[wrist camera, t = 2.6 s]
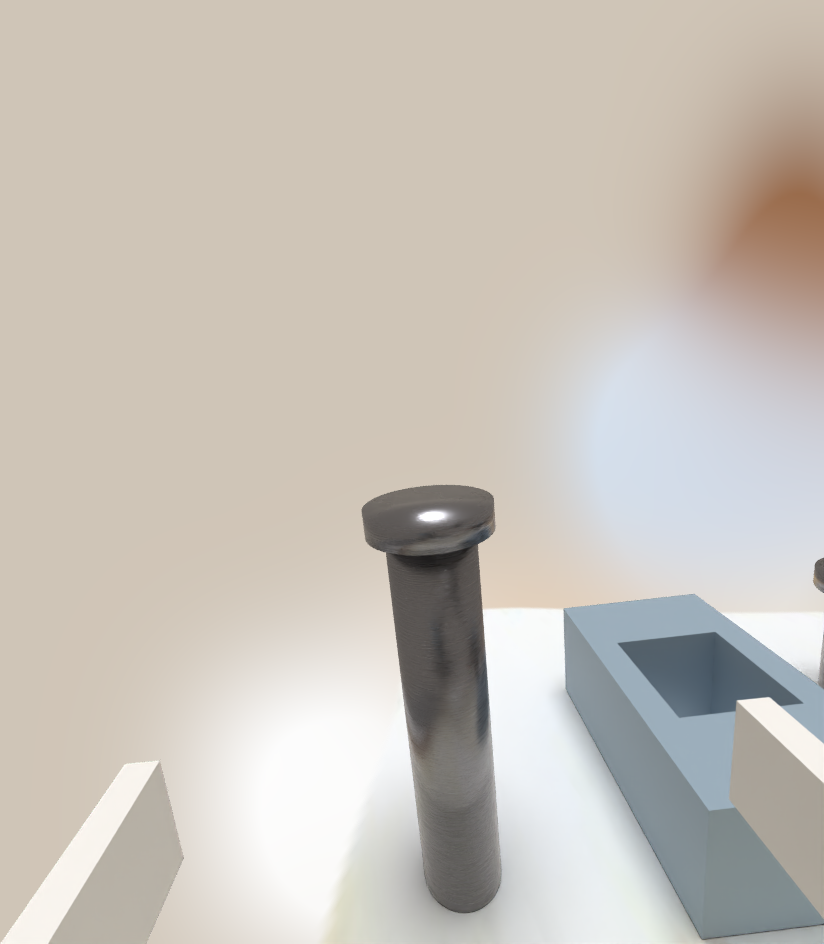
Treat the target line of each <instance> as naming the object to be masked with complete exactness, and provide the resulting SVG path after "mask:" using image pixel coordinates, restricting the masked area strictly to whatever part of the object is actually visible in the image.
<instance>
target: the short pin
mask: <svg viewBox="0 0 824 944" xmlns="http://www.w3.org/2000/svg"><path fill="white" fill-rule="evenodd" d="M813 582H814V584H815V586H816V587H817V588H818V589H819V590H820V591H822V592H823V593H824V558H822V559H820V560H818V561H817V562H816V563H815V570H814V580H813ZM818 685H819V686H820V687H821V688H823V689H824V634H823V643H822V652H821V661H820V670H819V679H818Z"/></svg>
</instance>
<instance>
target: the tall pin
mask: <svg viewBox="0 0 824 944" xmlns="http://www.w3.org/2000/svg"><path fill="white" fill-rule="evenodd" d="M362 517H363V525H364V533H365V539H366V542H367V543H368V544H369V545H370V546H371V547H373V548H375V549H377V550H380V551H383V552H386V557H387V565H388V573H389V582H390V590H391V598H392V606H393V615H394V623H395V632H396V640H397V648H398V656H399V665H400V673H401V681H402V690H403V698H404V706H405V714H406V723H407V731H408V739H409V748H410V756H411V764H412V773H413V781H414V789H415V797H416V806H417V814H418V822H419V831H420V839H421V847H422V855H423V864H424V872H425V879H426V883H427V886H428V888H429V890H430V892H431V894H432V895H433V897H434V898H435V899H436V900H437V901H438V902H439V903H440V904H441V905H443V906H444V907H446V908H447V909H450V910H452V911H456V912H462V913H467V912H473V911H476V910H479V909H481V908H483V907H484V906H486V905H487V904H488V903H489V902H490V901H491V900H492V899H493V897H494V896H495V894H496V892H497V891H498V888H499V885H500V881H501V859H500V845H499V832H498V818H497V804H496V790H495V776H494V763H493V749H492V735H491V721H490V708H489V694H488V680H487V666H486V652H485V639H484V625H483V611H482V597H481V585H480V570H479V556H478V544H479V543H481V542H483V541H484V540H486V539H487V538H489V537H490V536H491V535H492V534H493V532H494V531H495V512H494V498H493V496H492V495H491V494H490V493H489V492H487V491H485V490H482V489H479V488H474V487H469V486H460V485H433V486H422V487H415V488H408V489H403V490H398V491H394V492H390V493H387V494H384V495H381V496H379V497H376V498H374V499H372V500H371V501H369V502H368V503H366V504H365V505H364V506H363V508H362Z"/></svg>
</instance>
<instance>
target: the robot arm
mask: <svg viewBox="0 0 824 944" xmlns="http://www.w3.org/2000/svg"><path fill="white" fill-rule="evenodd" d="M729 800H730V801H731V802H732V804H733V805H734V806H735V807H736V809H737V810H738V811H739V812H740V814H741V815H742V816H743V818H744V819H745V820H746V821H747V823H748V824H749V825H750V826H751V828H752V829H753V830H754V831H755V833H756V834H757V835H758V837H759V838H760V839H761V840H762V842H763V843H764V844H765V845H766V847H767V848H768V849H769V850H770V852H771V853H772V854H773V856H774V857H775V858H776V859H777V861H778V862H779V863H780V864H781V866H782V867H783V868H784V869H785V871H786V872H787V873H788V875H789V876H790V877H791V878H792V880H793V881H794V882H795V883H796V885H797V886H798V887H799V888H800V890H801V891H802V892H803V894H804V895H805V896H806V897H807V899H808V900H809V901H810V902H811V904H812V905H813V906H814V907H815V909H816V910H817V911H818V913H819V914H820V915H821V916H822V918H823V919H824V744H823V743H822V742H821V741H820V740H819V739H818V738H816V737H815V736H814V735H813V734H812V733H811V732H809V731H808V730H807V729H806V728H805V727H804V726H802V725H801V724H800V723H799V722H798V721H797V720H795V719H794V718H793V717H792V716H791V715H790V714H789V713H787V712H786V711H785V710H784V709H783V708H782V707H780V706H779V705H778V704H777V703H776V702H775V701H773V700H772V699H771V698H770V697H765V698H756V699H746V700H737V701H736V714H735V727H734V740H733V753H732V766H731V779H730V792H729ZM183 859H184V857H183V853H182V849H181V845H180V841H179V837H178V833H177V829H176V825H175V820H174V817H173V812H172V808H171V804H170V800H169V796H168V792H167V788H166V784H165V780H164V776H163V772H162V768H161V764H160V761H150V762H141V763H130V764H125V765H124V766H123V768H122V769H121V771H120V772H119V774H118V775H117V777H116V778H115V779H114V781H113V783H112V784H111V785H110V787H109V788H108V790H107V791H106V792H105V794H104V795H103V797H102V798H101V800H100V801H99V803H98V804H97V806H96V807H95V808H94V810H93V811H92V813H91V814H90V816H89V817H88V818H87V820H86V821H85V823H84V824H83V826H82V827H81V828H80V830H79V831H78V833H77V834H76V836H75V837H74V839H73V840H72V842H71V843H70V844H69V846H68V847H67V849H66V850H65V852H64V853H63V855H62V856H61V857H60V859H59V860H58V862H57V863H56V865H55V866H54V868H53V869H52V870H51V872H50V873H49V875H48V876H47V878H46V879H45V880H44V882H43V883H42V885H41V886H40V888H39V889H38V890H37V892H36V893H35V895H34V896H33V898H32V899H31V901H30V902H29V903H28V905H27V906H26V908H25V909H24V911H23V912H22V914H21V915H20V917H19V918H18V919H17V921H16V922H15V924H14V925H13V927H12V928H11V929H10V931H9V932H8V934H7V935H6V937H5V938H4V939H3V941H2V942H1V944H146V943H147V941H148V938H149V936H150V934H151V932H152V929H153V927H154V925H155V922H156V920H157V918H158V916H159V913H160V911H161V909H162V907H163V904H164V902H165V900H166V897H167V895H168V893H169V891H170V888H171V886H172V884H173V881H174V879H175V877H176V875H177V872H178V870H179V868H180V865H181V863H182V861H183Z"/></svg>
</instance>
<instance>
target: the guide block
mask: <svg viewBox="0 0 824 944" xmlns="http://www.w3.org/2000/svg"><path fill="white" fill-rule="evenodd" d="M564 639H565V674H566V690H567V692H568V694H569V695H570V697H571V699H572V701H573V703H574V705H575V707H576V708H577V710H578V712H579V714H580V716H581V718H582V719H583V721H584V723H585V725H586V727H587V729H588V730H589V732H590V734H591V736H592V738H593V740H594V742H595V743H596V745H597V747H598V749H599V751H600V753H601V754H602V756H603V758H604V760H605V762H606V764H607V765H608V767H609V769H610V771H611V773H612V775H613V777H614V778H615V780H616V782H617V784H618V786H619V788H620V789H621V791H622V793H623V795H624V797H625V799H626V800H627V802H628V804H629V806H630V808H631V810H632V812H633V813H634V815H635V817H636V819H637V821H638V823H639V824H640V826H641V828H642V830H643V832H644V834H645V835H646V837H647V839H648V841H649V843H650V845H651V847H652V848H653V850H654V852H655V854H656V856H657V858H658V859H659V861H660V863H661V865H662V867H663V869H664V870H665V872H666V874H667V876H668V878H669V880H670V881H671V883H672V885H673V887H674V889H675V891H676V893H677V894H678V896H679V898H680V900H681V902H682V904H683V905H684V907H685V909H686V911H687V913H688V915H689V916H690V918H691V920H692V922H693V924H694V926H695V928H696V929H697V931H698V933H699V935H700V937H701V939H708V938H716V937H724V936H732V935H740V934H748V933H756V932H764V931H772V930H780V929H789V928H797V927H805V926H813V925H821V924H824V919H823V918H822V916H821V915H820V914H819V913H818V911H817V910H816V909H815V907H814V906H813V905H812V904H811V902H810V901H809V900H808V899H807V897H806V896H805V895H804V894H803V892H802V891H801V890H800V888H799V887H798V886H797V885H796V883H795V882H794V881H793V880H792V878H791V877H790V876H789V875H788V873H787V872H786V871H785V869H784V868H783V867H782V866H781V864H780V863H779V862H778V861H777V859H776V858H775V857H774V856H773V854H772V853H771V852H770V850H769V849H768V848H767V847H766V845H765V844H764V843H763V842H762V840H761V839H760V838H759V837H758V835H757V834H756V833H755V831H754V830H753V829H752V828H751V826H750V825H749V824H748V823H747V821H746V820H745V819H744V818H743V816H742V815H741V814H740V812H739V811H738V810H737V809H736V807H735V806H734V805H733V804H732V802H731V801H730V800H729V792H730V779H731V766H732V753H733V740H734V727H735V714H736V701H737V700H746V699H756V698H765V697H770V698H771V699H772V700H773V701H775V702H776V703H777V704H778V705H779V706H780V707H782V708H783V709H784V710H785V711H786V712H787V713H789V714H790V715H791V716H792V717H793V718H794V719H795V720H797V721H798V722H799V723H800V724H801V725H802V726H804V727H805V728H806V729H807V730H808V731H809V732H811V733H812V734H813V735H814V736H815V737H816V738H818V739H819V740H820V741H821V742H822V743H823V744H824V689H823V688H821V687H820V686H819V685H817V684H816V683H815V682H813V681H812V680H811V679H809V678H808V677H806V676H805V675H804V674H802V673H801V672H800V671H798V670H797V669H796V668H794V667H793V666H792V665H790V664H789V663H787V662H786V661H785V660H783V659H782V658H781V657H779V656H778V655H777V654H775V653H774V652H773V651H771V650H770V649H768V648H767V647H766V646H764V645H763V644H762V643H760V642H759V641H758V640H756V639H755V638H753V637H752V636H751V635H749V634H748V633H747V632H745V631H744V630H743V629H741V628H740V627H739V626H737V625H736V624H734V623H733V622H732V621H730V620H729V619H728V618H726V617H725V616H724V615H722V614H721V613H720V612H718V611H717V610H715V609H714V608H713V607H711V606H710V605H709V604H707V603H706V602H704V601H703V600H702V599H701V598H699V597H698V596H696V595H695V594H689V595H681V596H671V597H662V598H653V599H644V600H636V601H626V602H618V603H609V604H599V605H590V606H581V607H572V608H564Z"/></svg>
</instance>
